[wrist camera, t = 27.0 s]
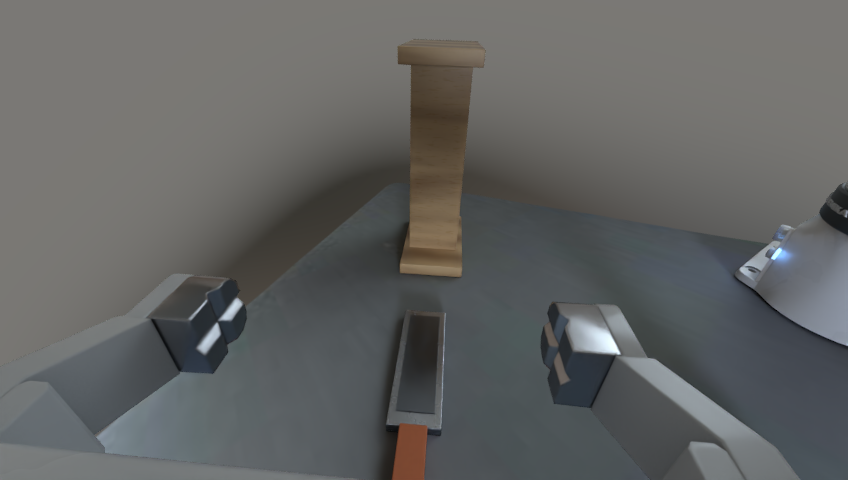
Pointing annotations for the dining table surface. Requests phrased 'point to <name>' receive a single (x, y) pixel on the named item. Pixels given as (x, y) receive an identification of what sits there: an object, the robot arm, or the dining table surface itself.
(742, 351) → the dining table surface
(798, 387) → the dining table surface
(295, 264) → the dining table surface
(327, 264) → the dining table surface
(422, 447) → the grater
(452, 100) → the shelf stand
